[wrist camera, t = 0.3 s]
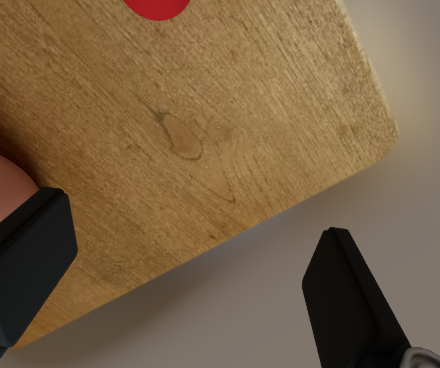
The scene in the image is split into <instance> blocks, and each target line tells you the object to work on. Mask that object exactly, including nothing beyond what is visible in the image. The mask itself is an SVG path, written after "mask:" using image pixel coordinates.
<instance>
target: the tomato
mask: <svg viewBox="0 0 440 368" xmlns="http://www.w3.org/2000/svg"><path fill="white" fill-rule="evenodd" d="M123 1H124V2H125V3H126V4H127V5H128V6H129V7H130V8H131V9H132V10H133V11H134V12H135V13H137V14H138V15H140V16H142V17H144V18H147V19H150V20H155V21H162V20H167V19H171V18H173V17H175V16H177V15H178V14H179V13H181V12H182V11H183V10H184V8H185V7H186V6H187V4H188V3H189V1H190V0H123Z"/></svg>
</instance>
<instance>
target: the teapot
mask: <svg viewBox="0 0 440 368" xmlns="http://www.w3.org/2000/svg"><path fill="white" fill-rule="evenodd" d="M38 190H39V188H38V187H37V185H36V184H35V182H34V181H33V180H32V179H31V178H30V177H29V175H28V174H27V173H25V172H24V171H23V170H22V169H21V168H20V167H18V166H17V165H15V164H14V163H13V162H11V161H10V160H8V159H6V158H5V157H3V156H1V155H0V222H1V221H2V220H3V219H5V218H6V217H7V216H8V215H9V214H11V213H12V212H13V211H14V210H15V209H17V208H18V207H19V206H20V205H21V204H23V203H24V202H25V201H26V200H27V199H29V198H30V197H31V196H32V195H33V194H35V193H36V192H37V191H38Z"/></svg>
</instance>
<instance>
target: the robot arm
mask: <svg viewBox="0 0 440 368" xmlns="http://www.w3.org/2000/svg"><path fill="white" fill-rule="evenodd" d="M77 251H78V247H77V242H76V236H75V231H74V225H73V219H72V214H71V208H70V203H69V197H68V195H67V194H65V193H64V191H63V190H62V189H59V188H52V187H42V188H41V189H39V190H38V191H37V192H36V193H35V194H33V195H32V196H31V197H30V198H29V199H27V200H26V201H25V202H24V203H23V204H21V205H20V206H19V207H18V208H17V209H15V210H14V211H13V212H12V213H11V214H9V215H8V216H7V217H6V218H5V219H3V220H2V221H1V222H0V358H1V357H2V356H3V354H4V353H5V352H6V350H7V349H8V347H12V346H14V345H15V344H16V343H17V342H18V340H19V339H20V337H21V336H22V334H23V333H24V331H25V330H26V329H27V327H28V326H29V324H30V323H31V321H32V320H33V318H34V317H35V316H36V314H37V313H38V311H39V310H40V308H41V307H42V305H43V304H44V302H45V301H46V300H47V298H48V297H49V295H50V294H51V292H52V291H53V289H54V288H55V287H56V285H57V284H58V282H59V281H60V279H61V278H62V276H63V275H64V274H65V272H66V271H67V269H68V268H69V266H70V265H71V263H72V262H73V261H74V259H75V257H76V255H77ZM302 290H303V294H304V298H305V302H306V306H307V310H308V314H309V318H310V322H311V326H312V330H313V334H314V338H315V342H316V346H317V351H318V354H319V359H320V363H321V367H322V368H440V356H439V355H437V354H435V353H433V352H432V351H430V350H427V349H424V348H421V347H411V345H410V343H409V341H408V339H407V337H406V336H405V334H404V332H403V330H402V328H401V326H400V325H399V323H398V321H397V319H396V317H395V315H394V313H393V312H392V310H391V308H390V306H389V304H388V303H387V301H386V299H385V297H384V295H383V293H382V291H381V290H380V288H379V286H378V284H377V282H376V280H375V278H374V277H373V275H372V273H371V271H370V269H369V268H368V266H367V264H366V262H365V260H364V259H363V256H362V255H361V253H360V251H359V249H358V247H357V245H356V244H355V242H354V240H353V238H352V236H351V234H350V233H349V231H348V230H347V229H342V228H335V227H330V228H329V229H328V230H324V231H323V233H322V235H321V238H320V240H319V243H318V245H317V247H316V249H315V252H314V254H313V257H312V259H311V261H310V263H309V266H308V268H307V270H306V273H305V275H304V277H303V281H302Z"/></svg>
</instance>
